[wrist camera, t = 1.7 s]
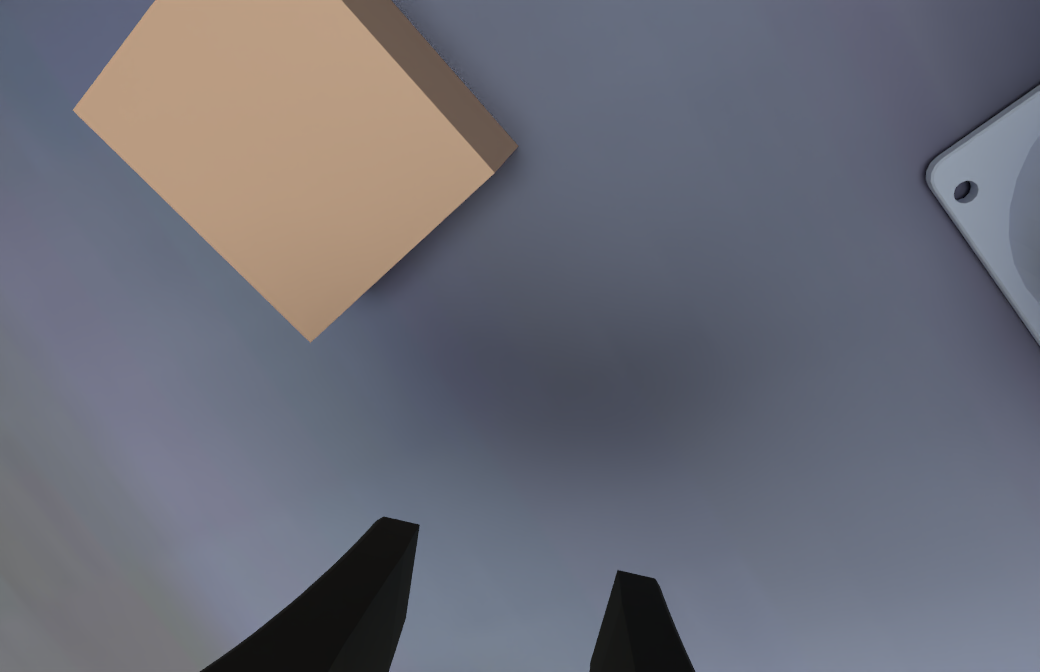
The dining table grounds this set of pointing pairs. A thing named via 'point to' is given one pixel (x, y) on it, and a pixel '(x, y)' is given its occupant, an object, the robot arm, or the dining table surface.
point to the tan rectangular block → (296, 138)
